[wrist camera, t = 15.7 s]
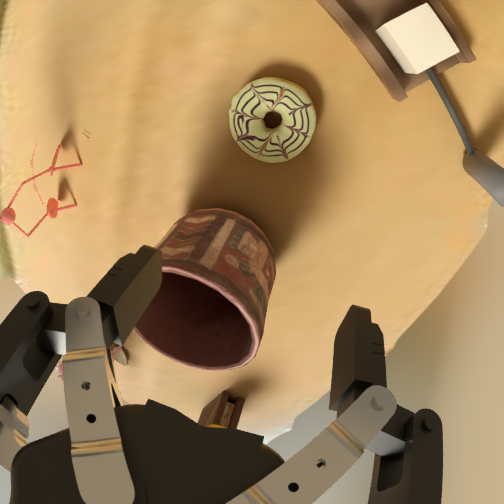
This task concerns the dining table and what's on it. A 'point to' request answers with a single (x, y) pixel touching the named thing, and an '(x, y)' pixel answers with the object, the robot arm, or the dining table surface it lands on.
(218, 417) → the book
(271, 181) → the dining table surface
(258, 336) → the pottery
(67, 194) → the dining table surface
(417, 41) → the block with knobbed rod
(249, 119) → the decorated donut
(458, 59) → the walnut lane
